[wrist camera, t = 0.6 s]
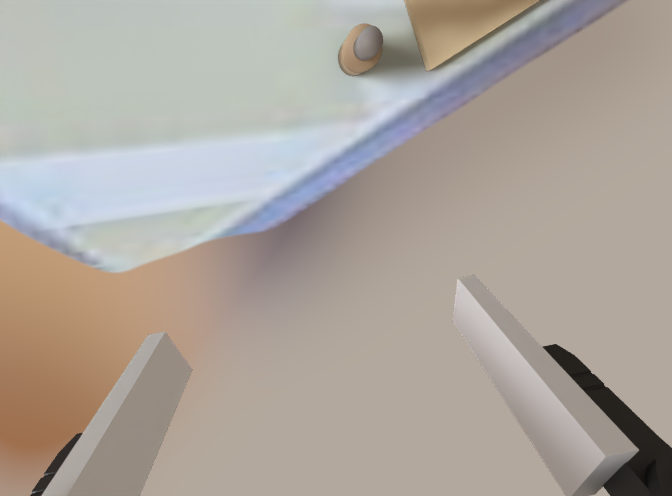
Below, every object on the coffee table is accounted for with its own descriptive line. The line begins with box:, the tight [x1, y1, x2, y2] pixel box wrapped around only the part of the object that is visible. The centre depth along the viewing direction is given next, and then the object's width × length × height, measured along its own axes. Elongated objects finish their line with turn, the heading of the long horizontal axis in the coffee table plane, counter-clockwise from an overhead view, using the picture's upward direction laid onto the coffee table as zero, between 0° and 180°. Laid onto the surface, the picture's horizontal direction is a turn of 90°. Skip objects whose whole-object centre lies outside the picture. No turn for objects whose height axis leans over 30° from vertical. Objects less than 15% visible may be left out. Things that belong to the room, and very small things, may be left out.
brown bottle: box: [338, 24, 383, 76], centre depth 23 cm, size 3×3×9 cm
